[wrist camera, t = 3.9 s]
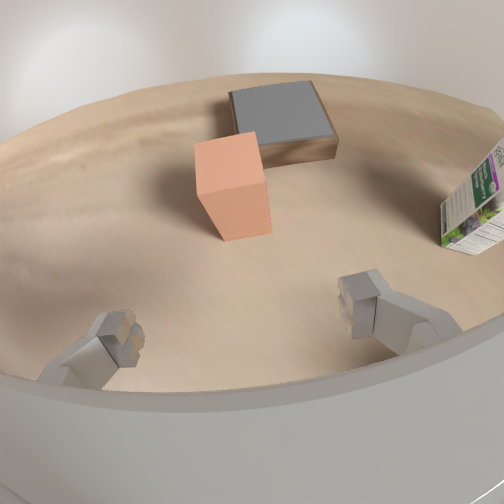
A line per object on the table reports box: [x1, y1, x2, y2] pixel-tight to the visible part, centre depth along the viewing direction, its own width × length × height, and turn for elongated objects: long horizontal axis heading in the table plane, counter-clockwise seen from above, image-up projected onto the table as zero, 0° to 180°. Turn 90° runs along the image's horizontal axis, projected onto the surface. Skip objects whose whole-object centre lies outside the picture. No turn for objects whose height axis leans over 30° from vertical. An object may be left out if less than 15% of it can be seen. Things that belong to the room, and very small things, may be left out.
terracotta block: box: [194, 131, 272, 241], centre depth 25 cm, size 5×5×10 cm
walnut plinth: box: [228, 81, 339, 169], centre depth 31 cm, size 11×11×4 cm
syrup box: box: [440, 136, 504, 255], centre depth 19 cm, size 6×6×14 cm
